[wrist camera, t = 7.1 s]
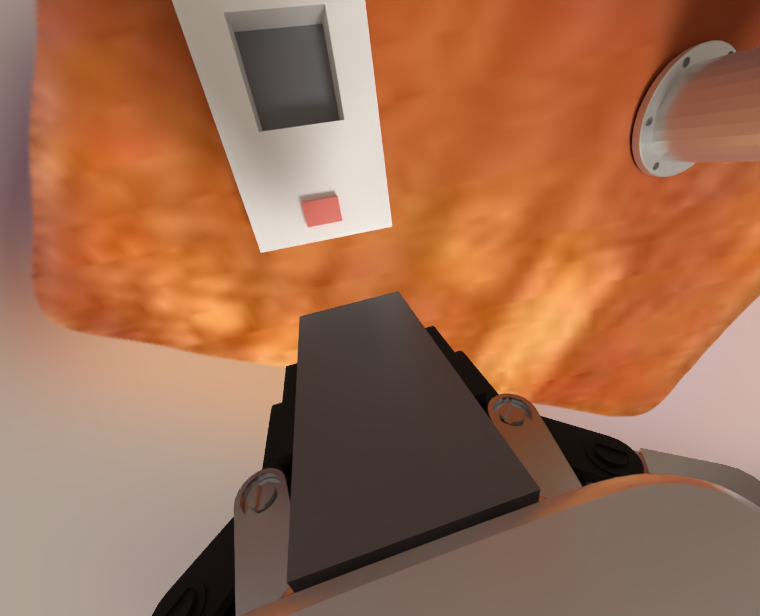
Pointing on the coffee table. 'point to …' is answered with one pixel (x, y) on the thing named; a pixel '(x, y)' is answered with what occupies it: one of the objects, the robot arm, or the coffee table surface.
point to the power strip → (294, 113)
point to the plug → (387, 444)
